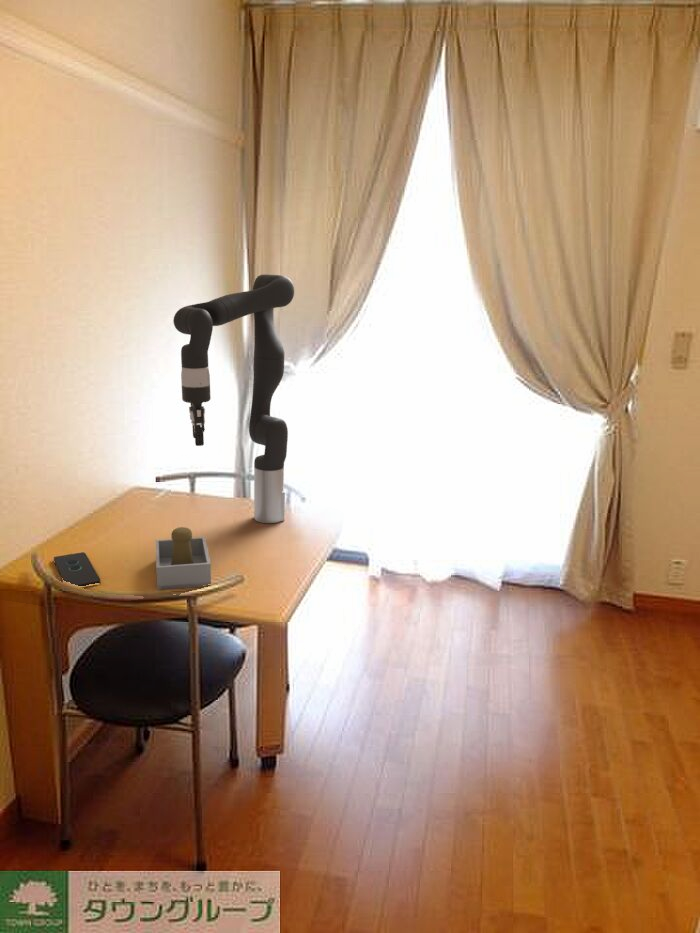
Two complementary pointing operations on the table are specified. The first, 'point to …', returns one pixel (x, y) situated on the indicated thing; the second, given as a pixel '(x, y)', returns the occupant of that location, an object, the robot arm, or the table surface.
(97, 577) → the smart home device
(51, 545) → the table surface
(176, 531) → the olive pawn
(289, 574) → the table surface
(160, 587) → the box
